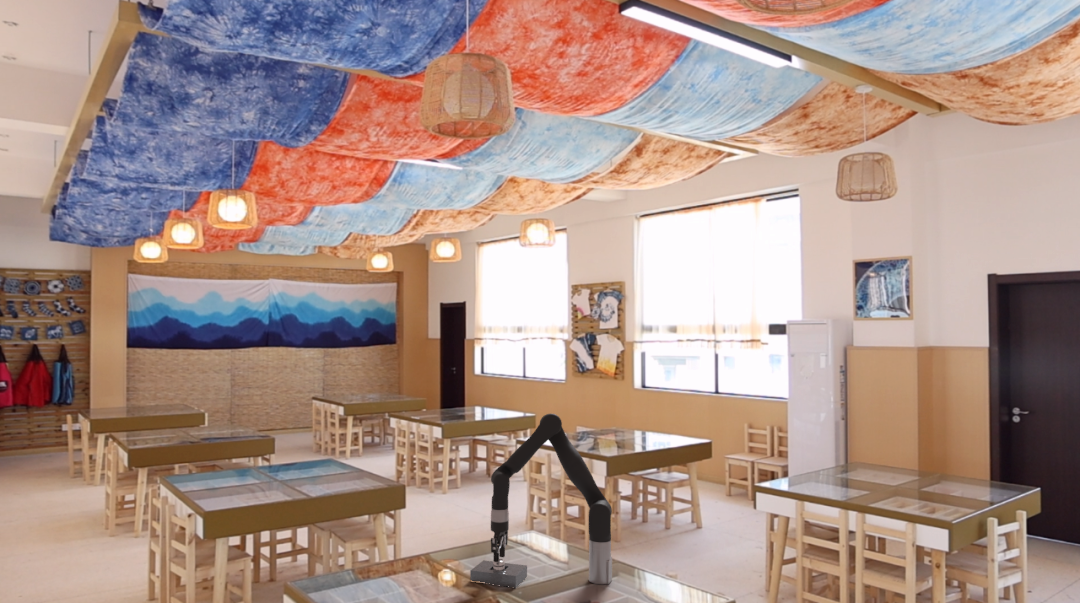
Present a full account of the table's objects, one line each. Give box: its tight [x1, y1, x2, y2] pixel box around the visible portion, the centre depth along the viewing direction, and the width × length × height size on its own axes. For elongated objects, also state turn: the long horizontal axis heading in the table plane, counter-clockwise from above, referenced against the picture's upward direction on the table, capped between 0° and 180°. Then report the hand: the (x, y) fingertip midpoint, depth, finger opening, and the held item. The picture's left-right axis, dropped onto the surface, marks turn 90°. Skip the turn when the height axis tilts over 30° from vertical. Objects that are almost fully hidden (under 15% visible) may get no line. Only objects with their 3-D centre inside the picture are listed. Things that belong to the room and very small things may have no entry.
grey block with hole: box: [469, 560, 528, 589], centre depth 313 cm, size 20×14×5 cm
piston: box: [492, 558, 506, 571], centre depth 313 cm, size 5×5×8 cm
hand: (499, 559), depth 314 cm, fingers open, 6 cm apart
